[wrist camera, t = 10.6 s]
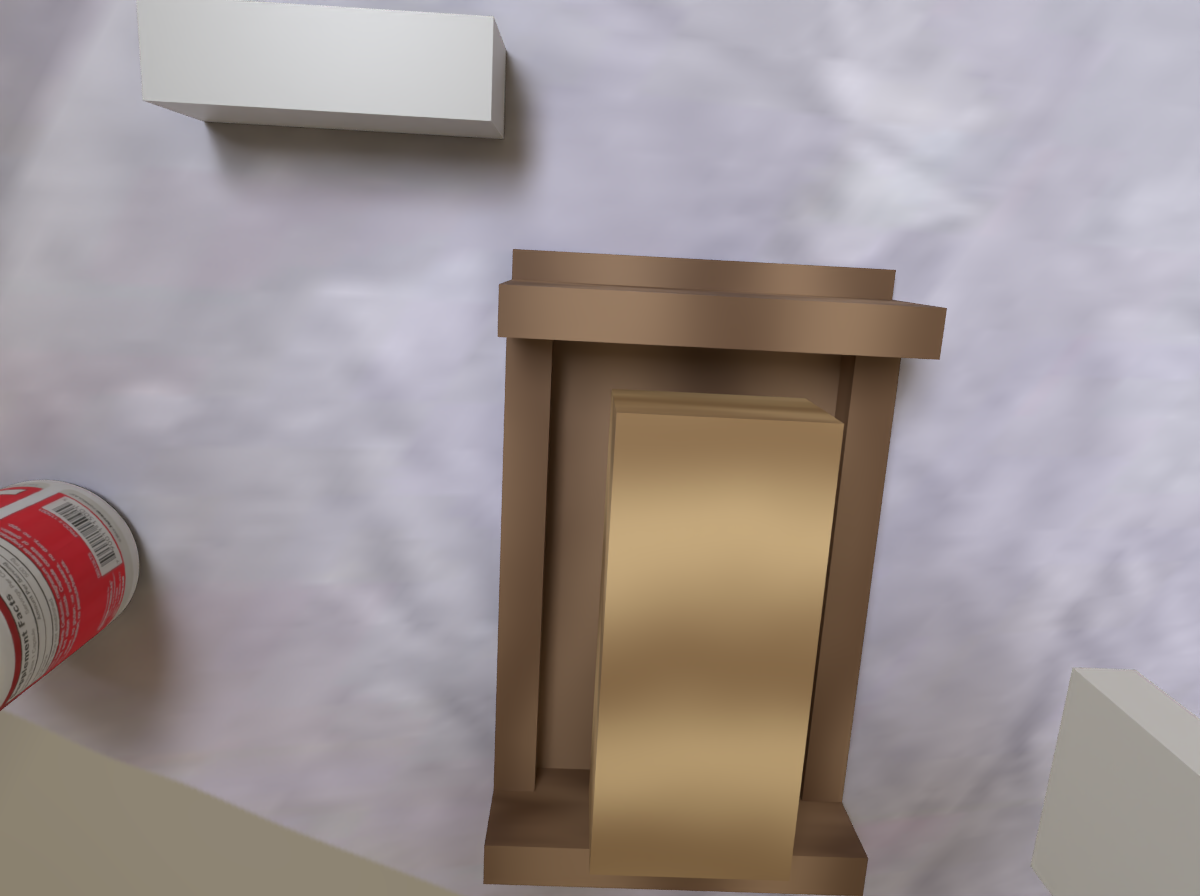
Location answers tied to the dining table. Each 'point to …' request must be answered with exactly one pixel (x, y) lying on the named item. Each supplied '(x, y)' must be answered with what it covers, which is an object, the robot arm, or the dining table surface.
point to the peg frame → (577, 507)
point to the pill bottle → (57, 576)
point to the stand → (324, 66)
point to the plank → (708, 631)
